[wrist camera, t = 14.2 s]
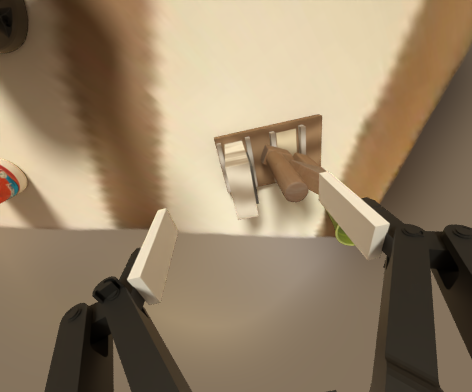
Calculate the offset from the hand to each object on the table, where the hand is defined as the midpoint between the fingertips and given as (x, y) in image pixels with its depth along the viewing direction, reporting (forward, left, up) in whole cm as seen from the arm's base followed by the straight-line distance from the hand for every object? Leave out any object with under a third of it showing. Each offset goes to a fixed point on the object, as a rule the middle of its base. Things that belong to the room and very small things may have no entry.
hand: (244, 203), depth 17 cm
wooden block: (+8, +11, -28) cm, 31 cm away
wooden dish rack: (+8, +8, -32) cm, 34 cm away
